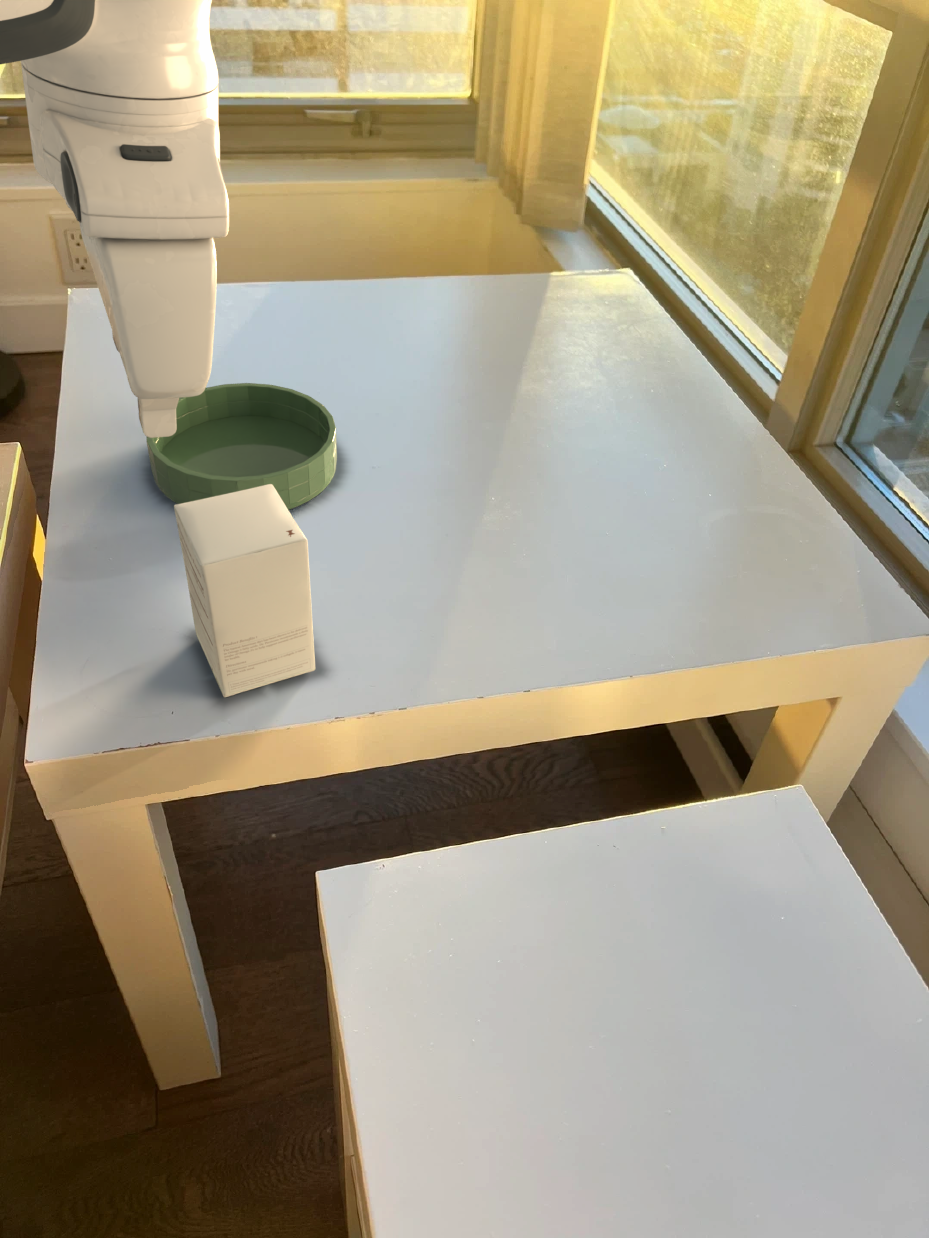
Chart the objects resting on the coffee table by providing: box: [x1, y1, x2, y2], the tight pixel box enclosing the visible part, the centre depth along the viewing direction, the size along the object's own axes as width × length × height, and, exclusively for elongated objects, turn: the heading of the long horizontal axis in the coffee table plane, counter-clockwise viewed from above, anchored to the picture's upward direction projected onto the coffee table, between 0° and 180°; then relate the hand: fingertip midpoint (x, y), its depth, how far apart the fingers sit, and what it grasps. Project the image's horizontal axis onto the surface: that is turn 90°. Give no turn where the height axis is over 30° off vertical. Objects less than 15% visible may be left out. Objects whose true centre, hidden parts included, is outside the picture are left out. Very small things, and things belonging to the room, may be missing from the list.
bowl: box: [145, 382, 338, 511], centre depth 91 cm, size 17×17×4 cm
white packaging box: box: [173, 484, 316, 698], centre depth 69 cm, size 7×7×13 cm
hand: (143, 387), depth 56 cm, fingers open, 8 cm apart
